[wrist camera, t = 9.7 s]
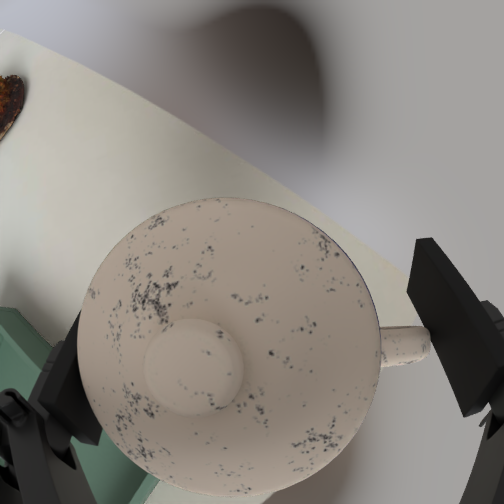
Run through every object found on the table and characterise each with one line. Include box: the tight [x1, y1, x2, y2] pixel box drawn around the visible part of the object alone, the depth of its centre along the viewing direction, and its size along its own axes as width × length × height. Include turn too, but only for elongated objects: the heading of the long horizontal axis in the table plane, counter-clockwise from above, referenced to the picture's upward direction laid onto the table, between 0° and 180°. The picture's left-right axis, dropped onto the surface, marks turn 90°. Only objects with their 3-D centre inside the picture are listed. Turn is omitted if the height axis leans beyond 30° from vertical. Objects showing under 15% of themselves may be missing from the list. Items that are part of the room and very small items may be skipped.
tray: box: [0, 307, 160, 504], centre depth 23 cm, size 24×24×5 cm
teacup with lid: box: [77, 198, 431, 497], centre depth 11 cm, size 12×9×12 cm
